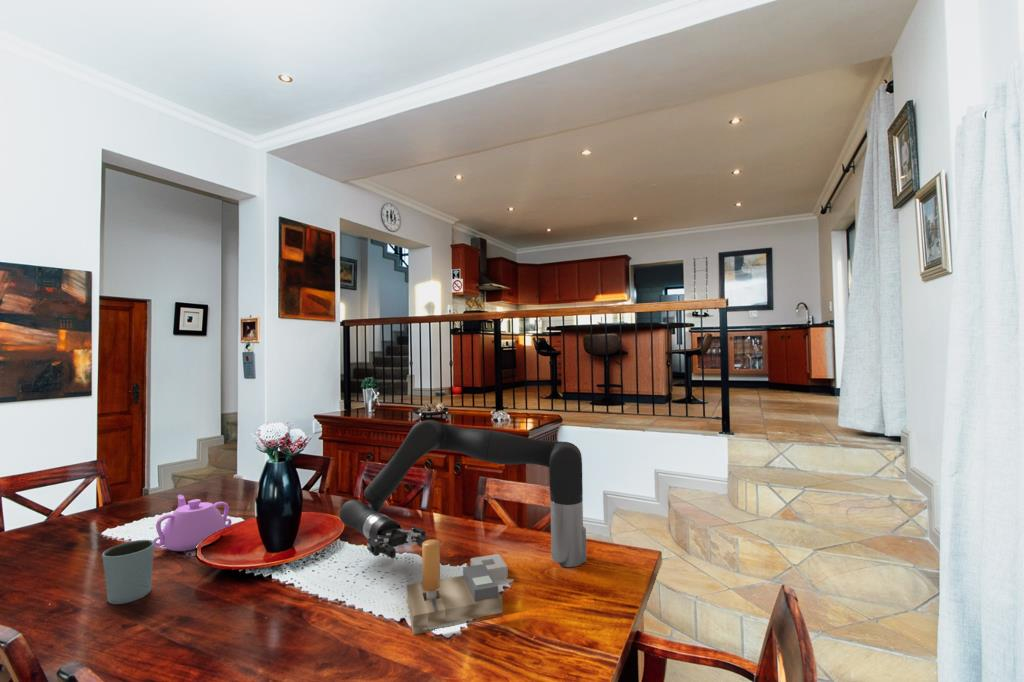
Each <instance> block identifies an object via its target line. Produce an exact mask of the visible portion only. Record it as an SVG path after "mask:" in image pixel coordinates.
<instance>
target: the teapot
mask: <svg viewBox="0 0 1024 682" xmlns="http://www.w3.org/2000/svg"><path fill="white" fill-rule="evenodd" d="M177 502H178V503H177V508H176V509H175V510H174V511H173V512H172V513H169V514H165V515H163V516H161V517H159V518H158V520H157V521H156V523H155V528H156V533H157V535H158V537H155V538H154V539H152V541H154V548H155V547H156V548H159V547H162V546H164V547H165V549H167V550H168V551H173V552H188V551H193V550H196V549H195V548H196V546H197V545H198V544H199V543H200V542H201V541H203V540H204V539H205V538H207V537H208V536H210V535H212V534H213V533H215V532H218V531H219V530H221V529H223V528H226V527H227V526H229V527H230V526H231V525H232V522H233V521H232V519H231V518H228V514H229V511H230V507H229V505H228V503H227V502H225V501H218V502H215V503H212V502H207V501H206V502H202V501H201V499H199V498H198V499H197V498H195V499H191V500H188V501H186V498H185V496H184V495H183V494H178V495H177ZM218 506H223V507H224V510H223V511H224V512H223V514H222V513H221V512H220V510H219V509H218V508H217V507H218ZM165 520H166V523H165V525H164V526H163V529H162V525H161V524H162V523H163V521H165ZM227 528H228V527H227ZM157 541H159V542H157ZM187 550H188V551H187Z"/></svg>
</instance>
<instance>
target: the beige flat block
mask: <svg viewBox="0 0 1024 682" xmlns="http://www.w3.org/2000/svg"><path fill="white" fill-rule="evenodd" d="M503 602H504V601H503V597H502V596H501V594H500V592H499V591H498V597H497V598H492V599H486V600H481V601H474V599H473V597H472V595H471V593H470V591H469V589H468V587H467V584H466V582H465V580H464V578H463V575H459V576H458V575H457V576H452V577H447V578H442V579H441V578H440V587H439V588H438V589H437V590H436V599H431V600H428V601H427V593H426V590H424V589H423V588H422V582H417V583H411V584H406V605H407V604H408V606H407V610H408V609H409V611H408V614H410V616H409V619H410V620H411V621H410V626H411V629H412V630H411V631H412V635H419V634H423V633H428V632H433V630H434V631H436V630H435V629H437V628H438V627H436V626H440V625H441V626H442V625H447V624H452V623H457V622H461V621H466V620H471V619H475V620H471V621H467V622H468V623H469V624H474V623H478V622H483V621H487V620H493V619H498V618H503V617H504V614H502V613H503V612H504V610H503V608H504V607H503V605H504V603H503ZM497 614H501V615H497ZM492 615H496V616H492ZM486 616H490V617H487V618H486ZM482 617H485V618H482ZM477 618H480V619H477ZM481 618H482V619H481ZM473 622H474V623H473ZM431 627H432V628H431ZM433 627H436V628H433ZM426 628H431V629H427V630H424V629H426Z"/></svg>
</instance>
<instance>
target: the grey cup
mask: <svg viewBox="0 0 1024 682" xmlns="http://www.w3.org/2000/svg"><path fill="white" fill-rule="evenodd" d="M154 552H155V546H154V541H153V539H138V540H131V541H126V542H124V543H120V544H117V545H114V546H112V547H109V548H108V549H106V550H104V551H103V552H102V554H101V557H102V564H103V571H104V580H105V584H106V586H105V587H106V589H105V590H106V594H107V595H106V596H107V597H106V599H107V602H109V604H110V603H111V604H110V605H122V604H128V603H131V602H134V601H138V600H139V599H142V598H144V597H145V596H147V595H148V594H149V593H150V592H151V591H152V580H153V579H152V574H153V567H154V566H153V560H154Z"/></svg>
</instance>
